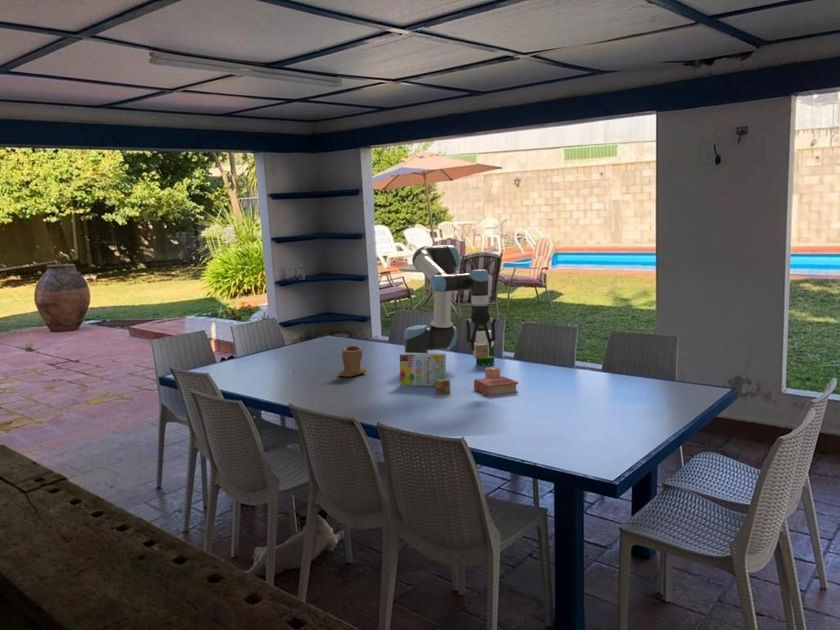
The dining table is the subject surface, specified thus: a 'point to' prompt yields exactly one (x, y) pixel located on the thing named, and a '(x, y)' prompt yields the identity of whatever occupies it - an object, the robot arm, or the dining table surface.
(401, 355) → the snack box
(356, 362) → the orange vase
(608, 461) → the dining table surface
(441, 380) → the block
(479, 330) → the milk carton
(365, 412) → the dining table surface
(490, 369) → the tan rounded glossy cylinder
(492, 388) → the book
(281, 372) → the dining table surface
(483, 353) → the block
